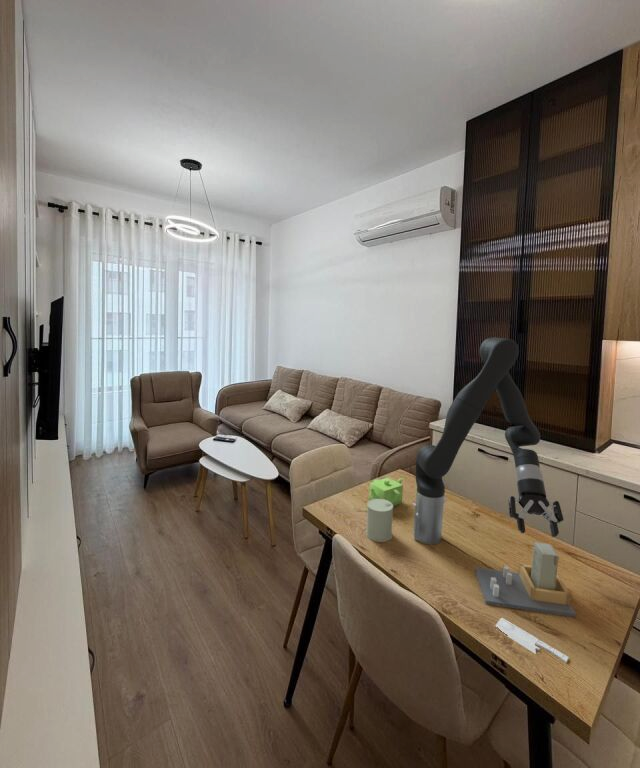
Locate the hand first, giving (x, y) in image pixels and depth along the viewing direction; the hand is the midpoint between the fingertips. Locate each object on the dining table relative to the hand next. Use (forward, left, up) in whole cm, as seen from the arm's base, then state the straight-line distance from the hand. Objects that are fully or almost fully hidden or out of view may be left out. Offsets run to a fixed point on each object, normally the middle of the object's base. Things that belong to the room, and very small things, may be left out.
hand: (538, 534), depth 109 cm
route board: (-6, -8, -14) cm, 17 cm away
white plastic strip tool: (-10, -26, -15) cm, 31 cm away
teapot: (-45, +35, -14) cm, 59 cm away
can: (-47, +12, -14) cm, 50 cm away
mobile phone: (-27, +41, -15) cm, 51 cm away
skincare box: (0, -6, -13) cm, 14 cm away
